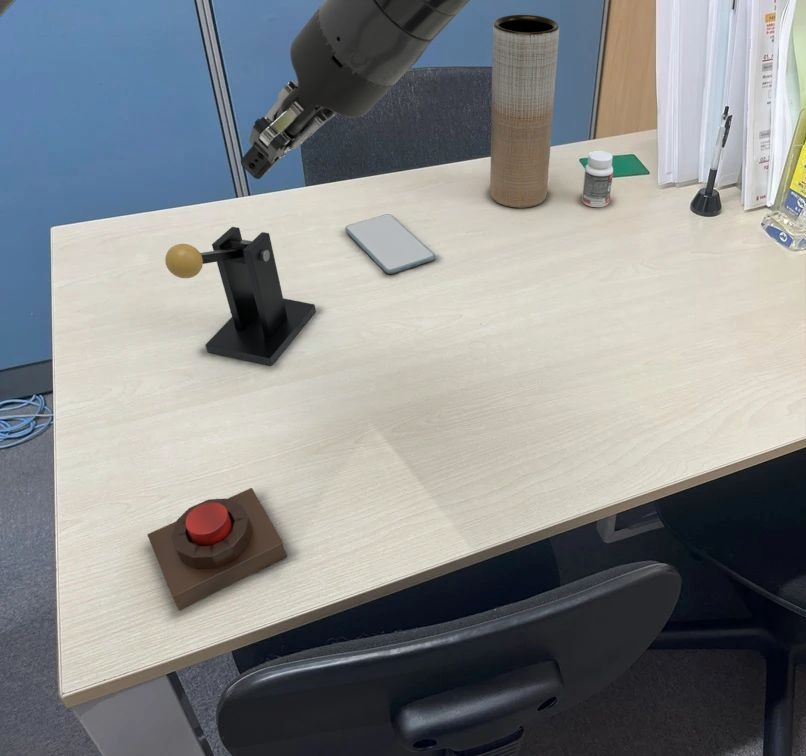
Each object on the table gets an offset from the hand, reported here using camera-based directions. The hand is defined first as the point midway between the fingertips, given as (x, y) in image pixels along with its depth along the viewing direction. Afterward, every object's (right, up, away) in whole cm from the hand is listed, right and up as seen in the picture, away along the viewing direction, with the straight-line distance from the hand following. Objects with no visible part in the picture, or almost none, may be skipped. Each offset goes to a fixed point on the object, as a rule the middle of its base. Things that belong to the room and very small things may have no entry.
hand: (252, 168), depth 64 cm
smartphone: (+5, +1, +45) cm, 45 cm away
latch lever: (-10, -7, +15) cm, 20 cm away
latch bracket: (-9, -13, +28) cm, 32 cm away
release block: (-4, -36, +3) cm, 36 cm away
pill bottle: (+39, +11, +58) cm, 71 cm away
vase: (+25, +13, +59) cm, 66 cm away
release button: (-4, -33, 0) cm, 33 cm away
